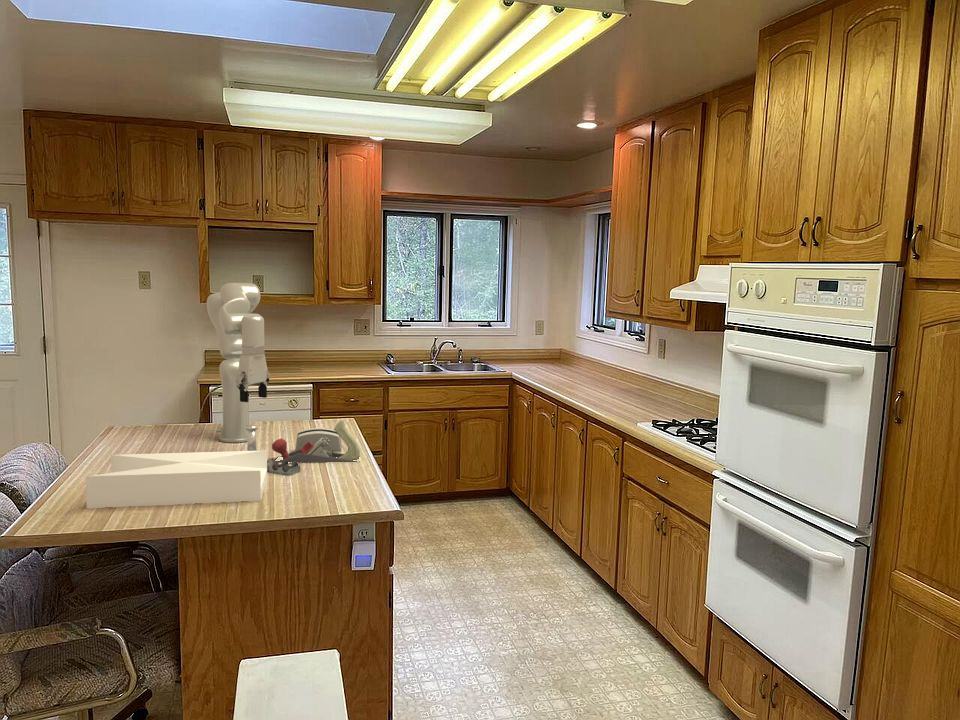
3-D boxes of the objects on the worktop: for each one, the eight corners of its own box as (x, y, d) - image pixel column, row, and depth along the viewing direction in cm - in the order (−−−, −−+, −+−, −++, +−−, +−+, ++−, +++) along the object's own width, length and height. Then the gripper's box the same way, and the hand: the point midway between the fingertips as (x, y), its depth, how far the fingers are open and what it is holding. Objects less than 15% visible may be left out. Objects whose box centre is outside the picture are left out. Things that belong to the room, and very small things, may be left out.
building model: (267, 479, 214) (266, 450, 213) (260, 502, 193) (260, 470, 192) (111, 485, 204) (110, 454, 203) (86, 510, 183) (85, 476, 182)
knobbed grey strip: (210, 463, 228) (210, 454, 228) (225, 458, 235) (225, 450, 235) (288, 476, 217) (288, 466, 216) (302, 470, 223) (302, 461, 223)
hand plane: (361, 463, 235) (362, 421, 233) (270, 464, 231) (269, 421, 230) (362, 458, 242) (363, 417, 240) (273, 458, 238) (273, 416, 236)
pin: (243, 457, 238) (243, 426, 236) (251, 454, 241) (251, 424, 240) (252, 458, 236) (252, 427, 235) (260, 455, 240) (260, 425, 238)
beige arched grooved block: (341, 448, 254) (341, 425, 249) (341, 455, 250) (341, 432, 245) (296, 448, 251) (295, 426, 246) (295, 456, 247) (294, 433, 242)
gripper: (260, 348, 244) (260, 394, 246) (226, 352, 228) (227, 402, 230) (277, 349, 241) (278, 396, 243) (245, 354, 225) (245, 404, 227)
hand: (253, 399), depth 236 cm, fingers open, 9 cm apart
